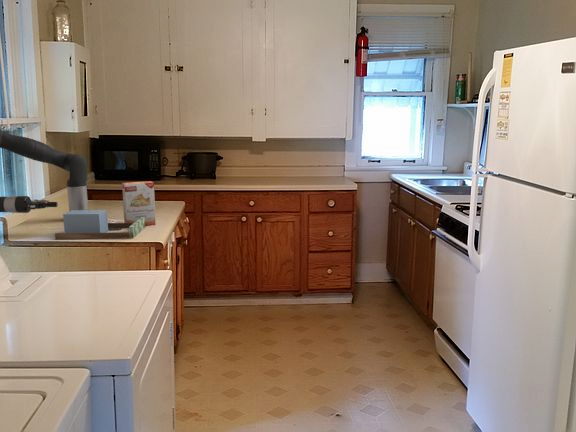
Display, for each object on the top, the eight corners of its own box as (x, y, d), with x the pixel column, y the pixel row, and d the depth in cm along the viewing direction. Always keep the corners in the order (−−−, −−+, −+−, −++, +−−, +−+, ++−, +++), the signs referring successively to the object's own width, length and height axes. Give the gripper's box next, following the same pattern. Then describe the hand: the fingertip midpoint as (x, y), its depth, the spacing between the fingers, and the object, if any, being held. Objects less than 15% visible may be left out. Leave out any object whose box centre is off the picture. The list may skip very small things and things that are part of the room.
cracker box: (126, 227, 263) (124, 183, 259) (124, 225, 268) (121, 182, 264) (156, 224, 269) (154, 181, 265) (153, 222, 274) (150, 180, 270)
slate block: (74, 231, 256) (72, 210, 255) (108, 231, 256) (106, 210, 254) (64, 236, 247) (62, 214, 245) (100, 236, 246) (98, 214, 244)
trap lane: (73, 228, 262) (72, 218, 261) (144, 227, 263) (144, 217, 262) (55, 239, 240) (54, 228, 239) (133, 238, 241) (132, 226, 240)
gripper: (10, 198, 241) (50, 198, 241) (23, 194, 254) (61, 194, 254) (11, 215, 242) (51, 215, 242) (24, 210, 255) (63, 210, 255)
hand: (56, 204), depth 248 cm, fingers closed
